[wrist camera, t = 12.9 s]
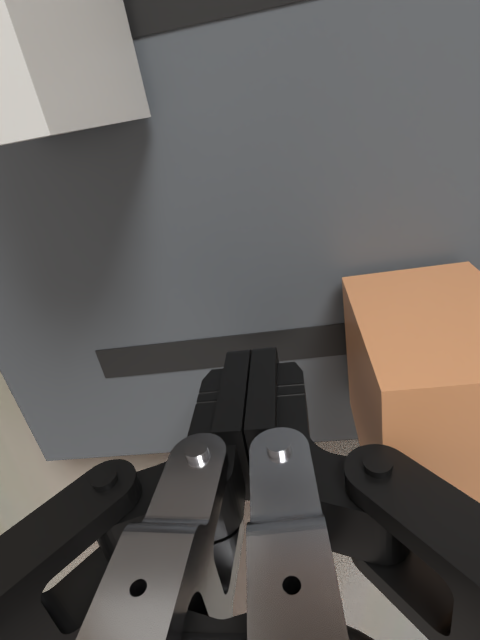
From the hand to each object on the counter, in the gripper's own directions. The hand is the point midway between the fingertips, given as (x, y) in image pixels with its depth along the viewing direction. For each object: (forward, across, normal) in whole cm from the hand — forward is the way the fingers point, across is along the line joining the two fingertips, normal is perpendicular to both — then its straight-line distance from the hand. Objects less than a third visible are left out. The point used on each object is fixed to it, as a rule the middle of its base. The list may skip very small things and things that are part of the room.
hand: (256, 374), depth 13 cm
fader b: (+1, -5, 0) cm, 5 cm away
